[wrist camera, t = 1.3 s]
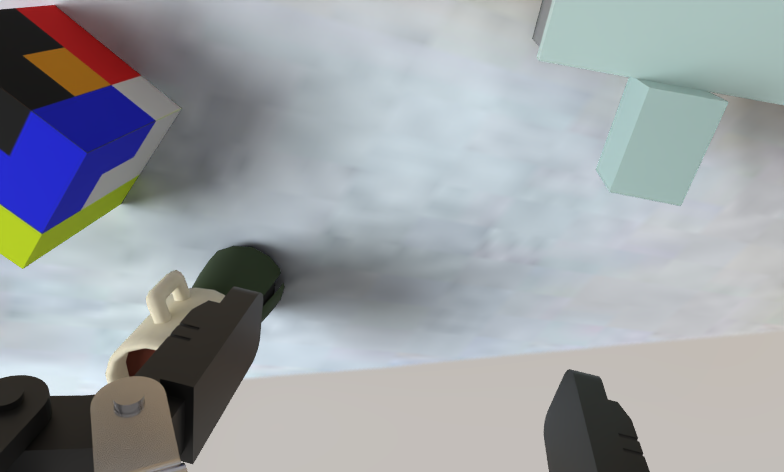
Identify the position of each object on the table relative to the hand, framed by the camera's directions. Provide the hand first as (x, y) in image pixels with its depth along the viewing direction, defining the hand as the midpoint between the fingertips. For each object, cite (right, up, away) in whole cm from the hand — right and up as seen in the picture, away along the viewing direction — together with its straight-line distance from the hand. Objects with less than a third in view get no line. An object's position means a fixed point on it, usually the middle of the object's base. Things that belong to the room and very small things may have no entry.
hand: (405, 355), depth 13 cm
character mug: (-12, 0, +28) cm, 31 cm away
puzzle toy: (-22, +12, +24) cm, 35 cm away
